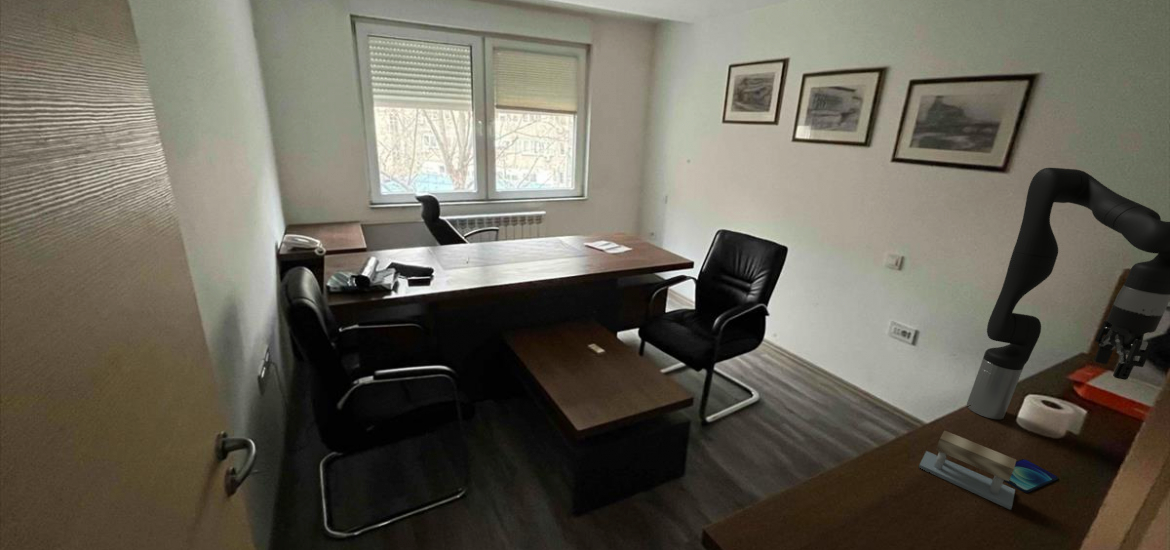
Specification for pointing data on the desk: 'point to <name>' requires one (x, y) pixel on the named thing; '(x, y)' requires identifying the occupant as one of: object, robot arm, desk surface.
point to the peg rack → (968, 479)
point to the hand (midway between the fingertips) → (1109, 370)
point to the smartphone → (1029, 476)
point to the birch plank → (976, 455)
